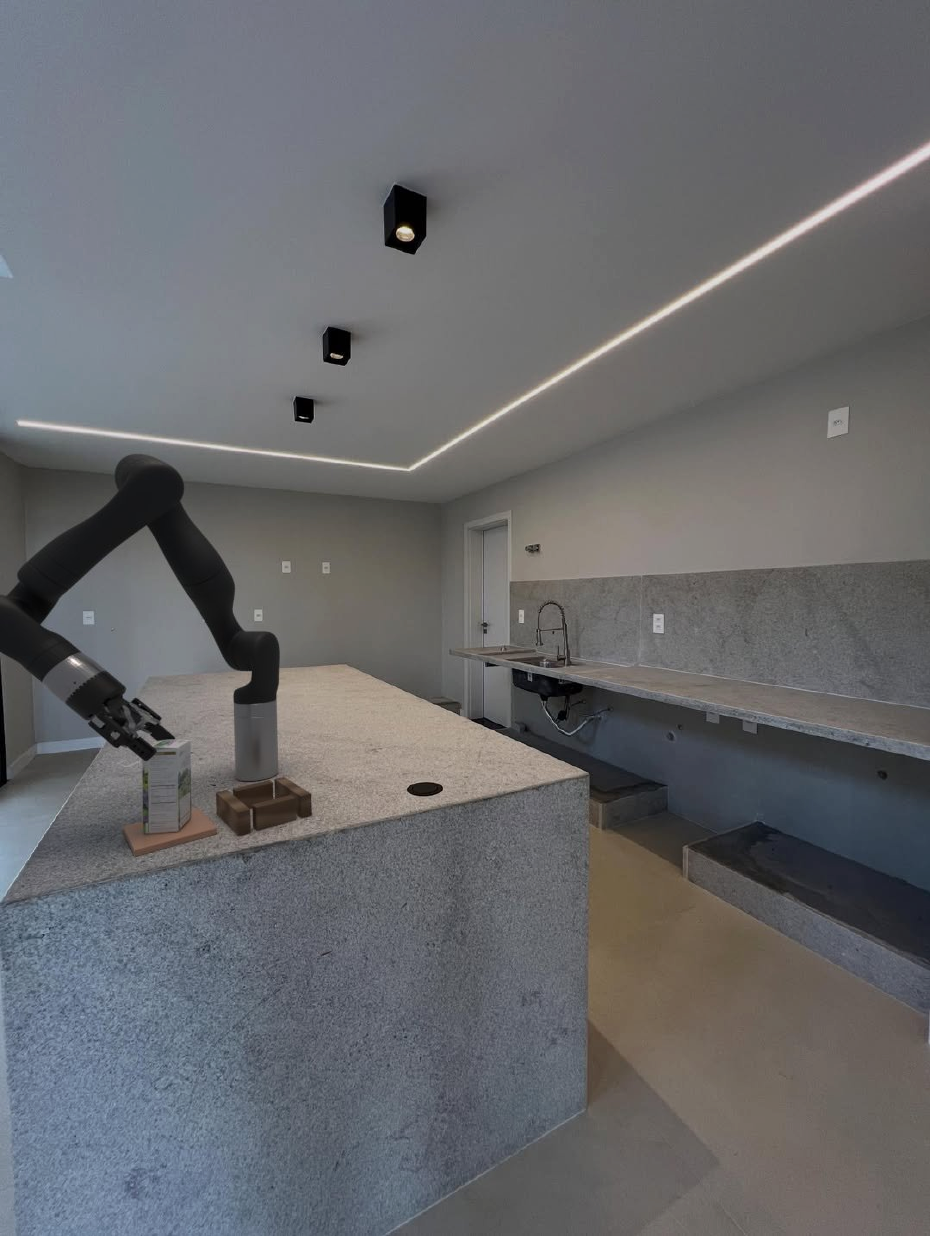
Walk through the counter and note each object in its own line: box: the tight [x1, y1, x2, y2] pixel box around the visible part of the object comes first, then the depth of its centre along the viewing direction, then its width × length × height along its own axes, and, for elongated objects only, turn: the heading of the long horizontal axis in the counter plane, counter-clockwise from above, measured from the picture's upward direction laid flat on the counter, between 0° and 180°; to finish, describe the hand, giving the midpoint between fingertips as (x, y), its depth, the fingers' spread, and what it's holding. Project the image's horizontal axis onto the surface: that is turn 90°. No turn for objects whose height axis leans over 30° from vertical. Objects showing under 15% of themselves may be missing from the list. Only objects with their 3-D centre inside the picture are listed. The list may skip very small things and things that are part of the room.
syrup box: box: [141, 738, 192, 834], centre depth 89 cm, size 6×6×14 cm
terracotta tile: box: [122, 807, 218, 857], centre depth 89 cm, size 12×12×1 cm
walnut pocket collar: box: [215, 776, 313, 837], centre depth 97 cm, size 13×13×4 cm
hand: (162, 749), depth 89 cm, fingers open, 8 cm apart
